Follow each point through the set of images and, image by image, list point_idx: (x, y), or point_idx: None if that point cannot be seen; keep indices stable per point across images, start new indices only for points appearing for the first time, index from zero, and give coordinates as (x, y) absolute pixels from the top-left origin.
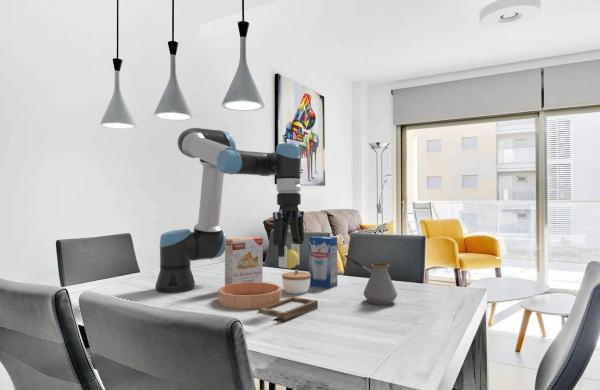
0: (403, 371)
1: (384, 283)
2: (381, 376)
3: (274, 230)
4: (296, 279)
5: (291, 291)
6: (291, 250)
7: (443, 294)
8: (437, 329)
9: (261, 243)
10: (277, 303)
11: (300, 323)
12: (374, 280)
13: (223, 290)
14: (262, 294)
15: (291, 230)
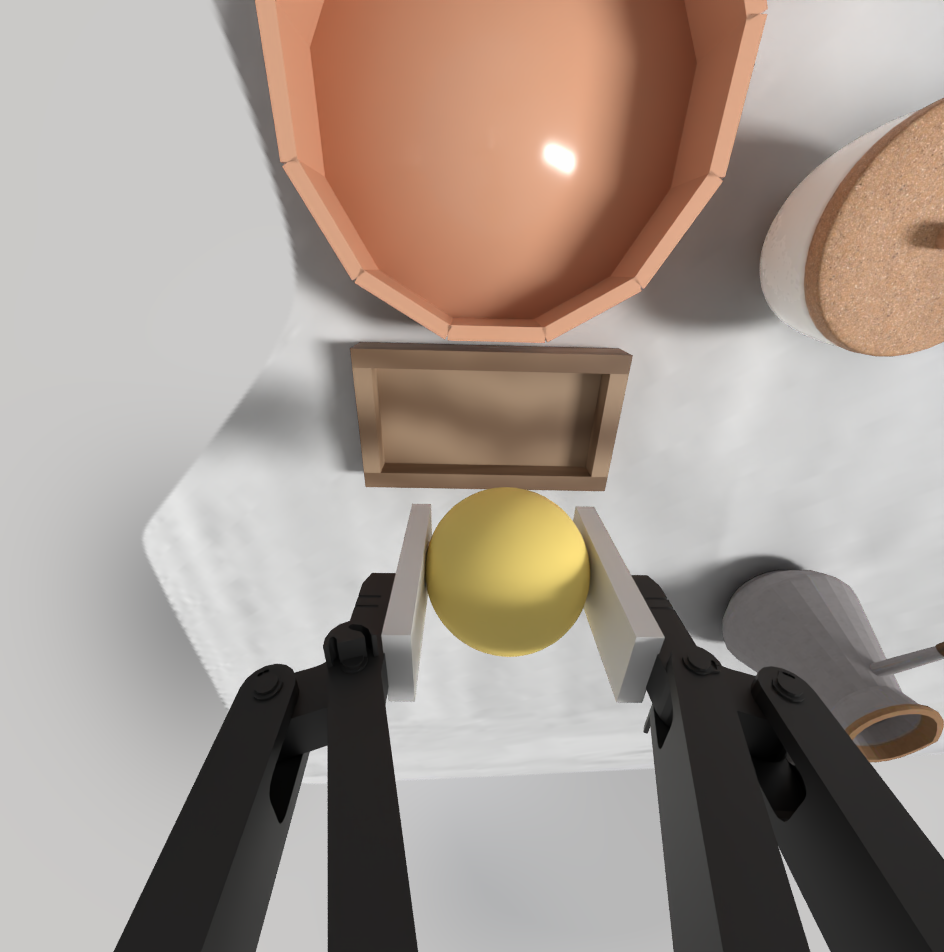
0: None
1: None
2: None
3: (136, 933)
4: (808, 307)
5: (760, 261)
6: (498, 651)
7: (916, 698)
8: (550, 746)
9: None
10: (474, 370)
11: (400, 517)
12: (793, 670)
13: None
14: (419, 313)
15: (702, 873)
